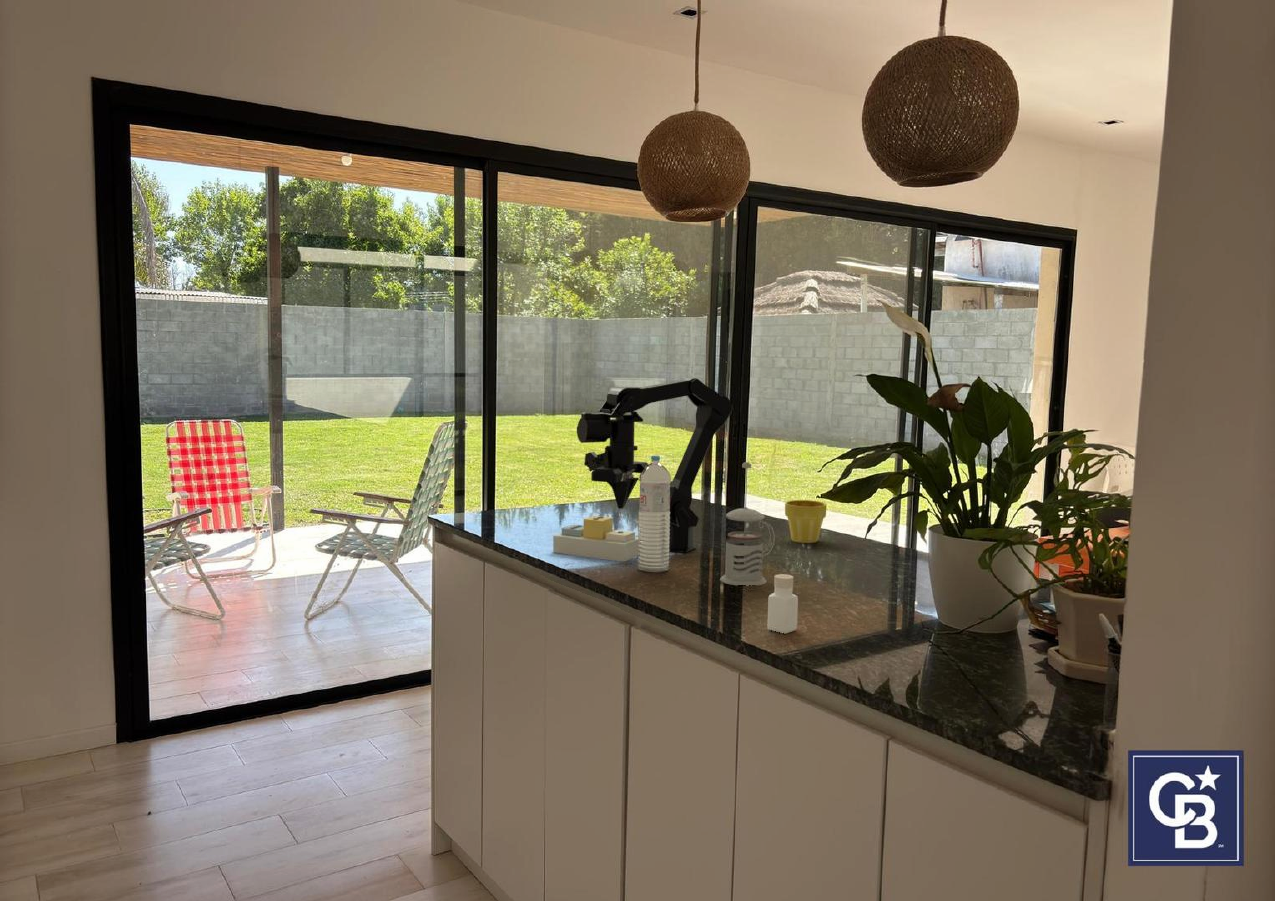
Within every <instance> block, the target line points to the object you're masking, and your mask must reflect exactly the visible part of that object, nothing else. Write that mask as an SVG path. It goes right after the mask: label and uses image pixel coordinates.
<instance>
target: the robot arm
mask: <svg viewBox="0 0 1275 901" xmlns="http://www.w3.org/2000/svg"><path fill="white" fill-rule="evenodd" d="M682 397H687V398H688V400H689V401H690V402H691V403H692V404H693V405H694V406H695V407H696V411H695V428H694V430H693V432H692V435H691V437H690V439H689V442H688V445H687V447H686V449H685V451H684V453H683V456H682V459H681V461H680V462H679V466H678V468H677V469H676V471H675V472H676V473H675V475H674V477H673V479H671V482H670V527H669V528H670V531H669V532H670V535H669V536H670V539H669V541H670V543H669V552H676V553H688V552H690V551H692V550H694V549H696V548H697V546H696V545H694V527H697V525H698V522H699V519H700V518H699V516H697V514H695V512H693V510H692V509H691V505H692V502H693V490H692V489H693V485H694V482H695V480H696V478H697V475H698V473H699V471H700V469H701V466H702V464H703V463H704V460H705V457H706V455H707V452H708V450H709V447H710V445H711V443H712V440H713V439H714V436H715V434H716V432H718V430H720V429H721V428H722V427H723V426H724V425H725V424H726V422H727V420H728V419H729V417H730V416H731V414H732V411H733V405H732V402H731V400H730V398H729V397H727V396H725V395H721V394H720V393H719V392H717V391H715V390H714V389H712V388H711V387H709V386H707V385H706V384H705V383H704V382H702V381H701V380H700V379H698V378H696V377H695V378H694V377H685V378H683V379H678V380H673V381H668V382H664V383H663V382H662V383H658V384H652V385H647V386H640V387H639V386H614V387H611V388H609V391H608V392H607V394H606V399H605V401H604V403H603V404H602V405H601V407H600V408H599V410H598V411H597V412H596V413H595V412H594V413H590V412H581V414H580V419H579V420H578V422H577V423H578V424H577V426H576V435H577V438H578V439H577V440H578V441H579V442H580V443H581V444H588V443H589V444H590V443H591V444H593V443H606V442H607V440H608V439H609V444H608V445H606V446H605V448H604V452H603V453H598V454H597V453H596V452H595V451H590V452H588V453H585V456H584V463H583V465H584V466H586V467H587V468H588V471H589V472H590V474H591V475H590V477H591V478H590V479H591V481H592V482H602V483H607V484H608V485H609V486H610V487H611V490H612V492H613V495H614V496H613V497H614V498H615V503H616V505H617V508H618V509H621V510H622V509H624V508H625V506H626V504H627V502H628V500H629V498H630V496H631V494H632V492H633V490H634V488H635V486H636V484H637V482H638V481H639V479H640V478H639V477H634V476H635V475H634V473H635V474H641V472H642V471H643V469H644V468H645V467H646V466H647V465H649V463H648V462H647V461H637V460H635V451H638V445H635V423H642V422H644V419H643V417H642V416H641V415H639V413H638V412H637V411H638V410H640V409H643V408H644V407H646V406H648V405H650V404H653V403H656V402H657V403H658V402H661V401H667V400H668V401H669V400H672V399H678V398H682ZM627 413H628V414H627ZM611 418H612V419H611Z"/></svg>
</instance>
